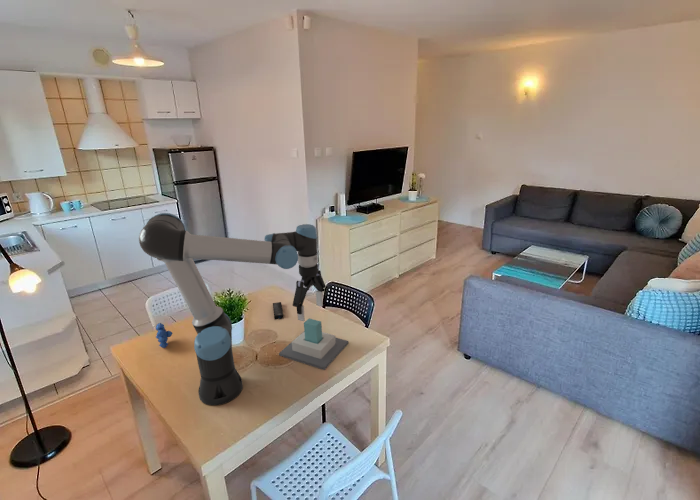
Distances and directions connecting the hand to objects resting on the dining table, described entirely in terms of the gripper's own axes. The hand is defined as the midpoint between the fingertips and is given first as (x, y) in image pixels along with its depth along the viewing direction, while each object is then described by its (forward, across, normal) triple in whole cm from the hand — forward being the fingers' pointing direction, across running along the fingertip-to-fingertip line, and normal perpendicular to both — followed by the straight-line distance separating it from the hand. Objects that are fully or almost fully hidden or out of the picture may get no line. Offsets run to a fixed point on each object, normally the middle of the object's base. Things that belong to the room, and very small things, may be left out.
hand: (310, 312), depth 151 cm
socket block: (+18, 0, 0) cm, 18 cm away
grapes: (+19, -25, +59) cm, 67 cm away
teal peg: (+16, 0, -1) cm, 17 cm away
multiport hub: (+18, +20, +34) cm, 44 cm away
